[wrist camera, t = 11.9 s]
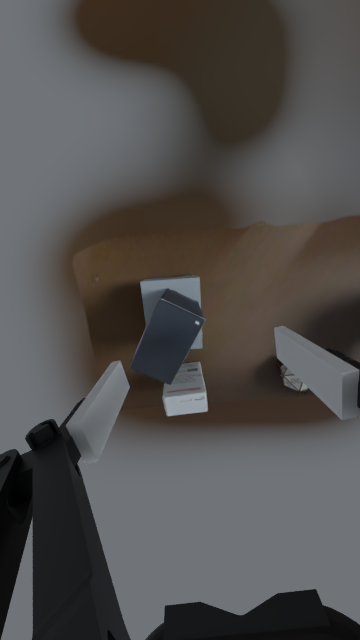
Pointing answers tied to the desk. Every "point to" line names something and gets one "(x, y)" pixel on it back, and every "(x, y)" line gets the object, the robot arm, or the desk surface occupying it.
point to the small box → (168, 336)
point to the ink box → (186, 391)
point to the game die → (292, 380)
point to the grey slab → (182, 285)
